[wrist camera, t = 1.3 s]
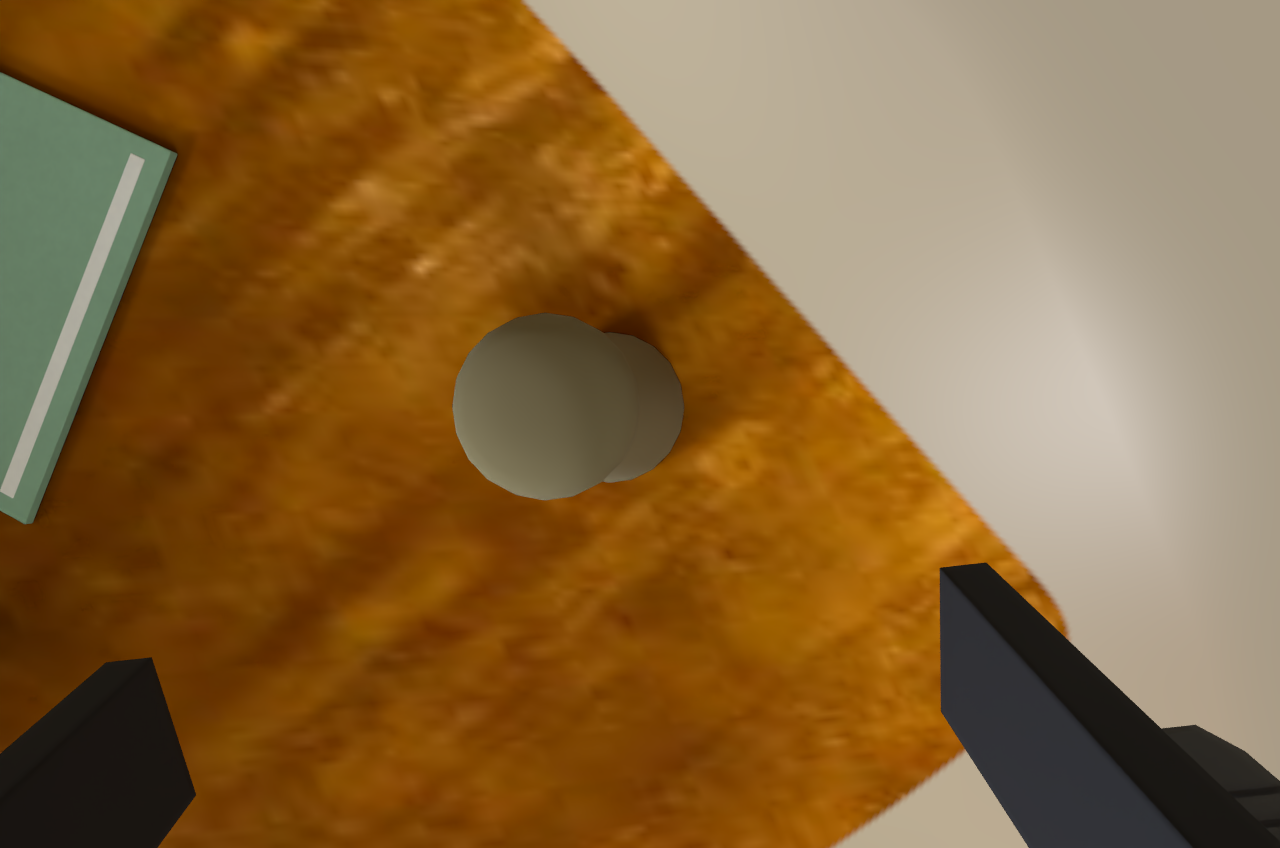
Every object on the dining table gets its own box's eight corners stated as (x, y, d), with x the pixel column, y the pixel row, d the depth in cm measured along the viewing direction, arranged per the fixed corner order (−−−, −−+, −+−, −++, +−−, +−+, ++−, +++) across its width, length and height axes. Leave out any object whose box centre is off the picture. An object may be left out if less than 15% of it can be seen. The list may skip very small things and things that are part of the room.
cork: (683, 483, 30) (643, 526, 19) (536, 481, 31) (418, 519, 20) (684, 331, 30) (645, 286, 19) (536, 332, 31) (418, 291, 20)
